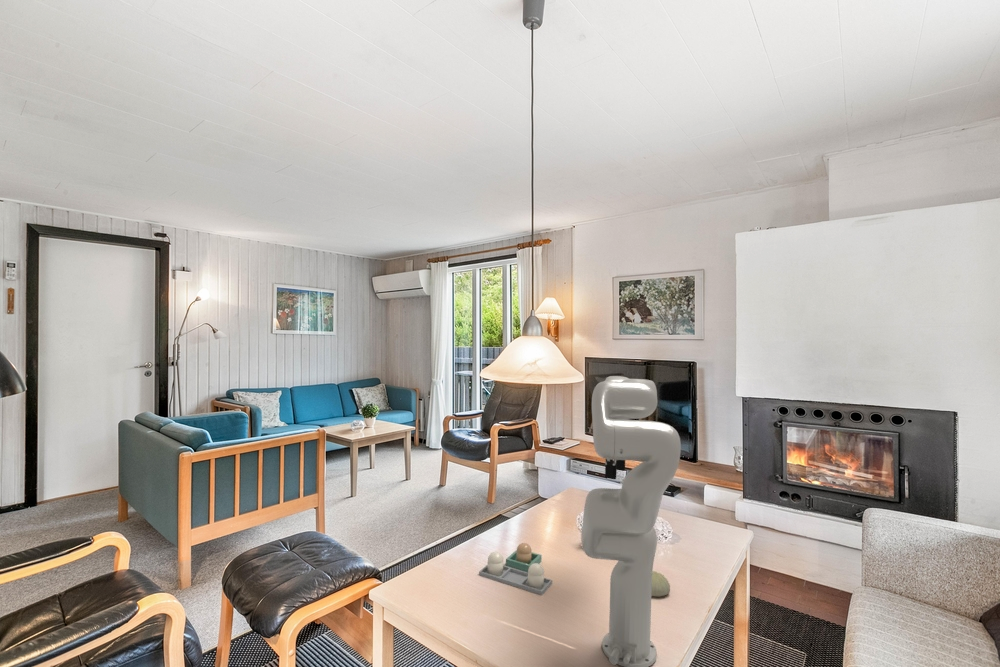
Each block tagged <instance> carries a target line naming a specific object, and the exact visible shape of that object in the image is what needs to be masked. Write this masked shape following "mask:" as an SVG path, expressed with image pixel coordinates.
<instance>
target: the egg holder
mask: <svg viewBox="0 0 1000 667" xmlns="http://www.w3.org/2000/svg"><path fill="white" fill-rule="evenodd" d="M542 558H543V557H542V554H539V553H535V552H532V554H531V563H530V564H526V563H522V562H519V561H517V549H516V550H515V551H513V552H512V553H511V554H510V555H509V556H508V557H507V558H505V566H507V567H511V568H514V569H517V570H521V571H524V572H527V573H528V569H529V567H530V565H532V564H534V563H538V564H540V565H541V563H542Z"/></svg>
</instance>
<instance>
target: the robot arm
mask: <svg viewBox="0 0 1000 667" xmlns="http://www.w3.org/2000/svg"><path fill="white" fill-rule="evenodd" d="M657 407H658V390H657V386H656V383H655V382H654V381H653V380H649V379H645V378H644V379H643V378H629V377H626V376H622V375H621V376H620V375H610V376H608V377H607V376H606V378H605V380H604V381H600V382H599V383H597V384H596V386H594V388H593V392H592V395H591V420H592V438H593V440H592V441H593V447H594V448H593V449H594V450H595V452H596V455H597V456H599V458H603V459H604V460H605V463H604V466H605V468H604V469H605V470H604V476H605V477H604V478H606V479H610V480H616V479H617V471H620V472H621V471H622V472H625V471H626V461H632V462H633V461H636V462H637V461H638V462H641V463H639V464H637V465H636V466H634V467H633V468H632V469H630V471H629V472H628V473H627V474H626V475H625V476H624V478H623V480H622V485H621V488H605V487H604V488H603V487H600V488H599V487H598V488H594V489H591V490H590V491H589V492H588V493H587V495H586V498H585V502H584V506H583V515H582V524H581V525H582V526H581V536H580V541H581V547H582V550H583V552H584V554H585V555H586V556H587V557H589V558H591V559H596V560H606V561H617V562H616V564H615V565H614V567H613V568H612V570H611V574H610V581H609V583H610V585H609V586H610V587H609V616H608V617H609V622H608V623H609V624H608V626H609V627H608V633H606V634H605V635H604V636H603V638H602V641H601V647H602V651H603V653H604V654H605V656H606V657H607V658H608V660H609V663H611V665H614V666H615V665H619V666H621V667H650V666H652V665H654V664H655V662H656V660H657V658H658V657H657V655H658V652H657V648H656V646H655V644H654V643H653V642H652V641H651V625H652V624H651V623H652V622H651V618H652V596H651V591H652V571H654V570H653V569H654V563H655V556H656V551H657V546H658V537H657V536H658V535H657V531H656V529H655V525H656V522H657V520H658V515H659V513H660V512H659V511H660V506H661V502H662V498H663V495H664V494H665V492H666V490H667V488H669V486H670V484H671V483H672V481H673V479H674V477H675V475H676V473H677V470H678V468H679V464H680V459H681V450H682V448H681V447H682V446H681V445H682V444H681V443H682V442H681V437H680V435H679V433H678V431H677V430H676V429H675V428H674V427H673V426H671V425H670V424H668V423H665V422H661V421H654V420H641V419H644V418H647V417H649V416H651V415H652V414H653V413H654V412H655V411H656V410H657ZM635 419H636V420H635Z"/></svg>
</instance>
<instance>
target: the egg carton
mask: <svg viewBox="0 0 1000 667" xmlns="http://www.w3.org/2000/svg"><path fill="white" fill-rule="evenodd" d="M478 576H481V577H482V578H486V579H490V580H492V581H496V582H499V583H502V584H505V585H509V586H512V587H515V588H519V589H521V590H524V591H527V592H530V593H533V594H537V595H540V596H543V595H544V594H545V593H546V592H547V590H548V589H549V588H550V587H551V585H553V580H552V579H551V578H547V577H544V587H543V588H542V589H540V590H539V589H535V588H532V587H529V586H528V572H525V571H521V570H518V569H515V568H511V567H508V566H506V565H504V564H503V574H502V575H501V576H499V577H497V576H494V575H491V574H488V564H486V565H485V566H484V567H482V569H481V570H479V571H478Z"/></svg>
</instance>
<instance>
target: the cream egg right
mask: <svg viewBox="0 0 1000 667" xmlns="http://www.w3.org/2000/svg"><path fill="white" fill-rule="evenodd" d="M527 573H528V586H529V587H532V588H535V589H539V590H540V589H542V588H543V587H544V578H545V569H544V567H543V566H542V564H541V563H540V564H538V563H534V564H532V565H530V567H529V569H528V572H527Z"/></svg>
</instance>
